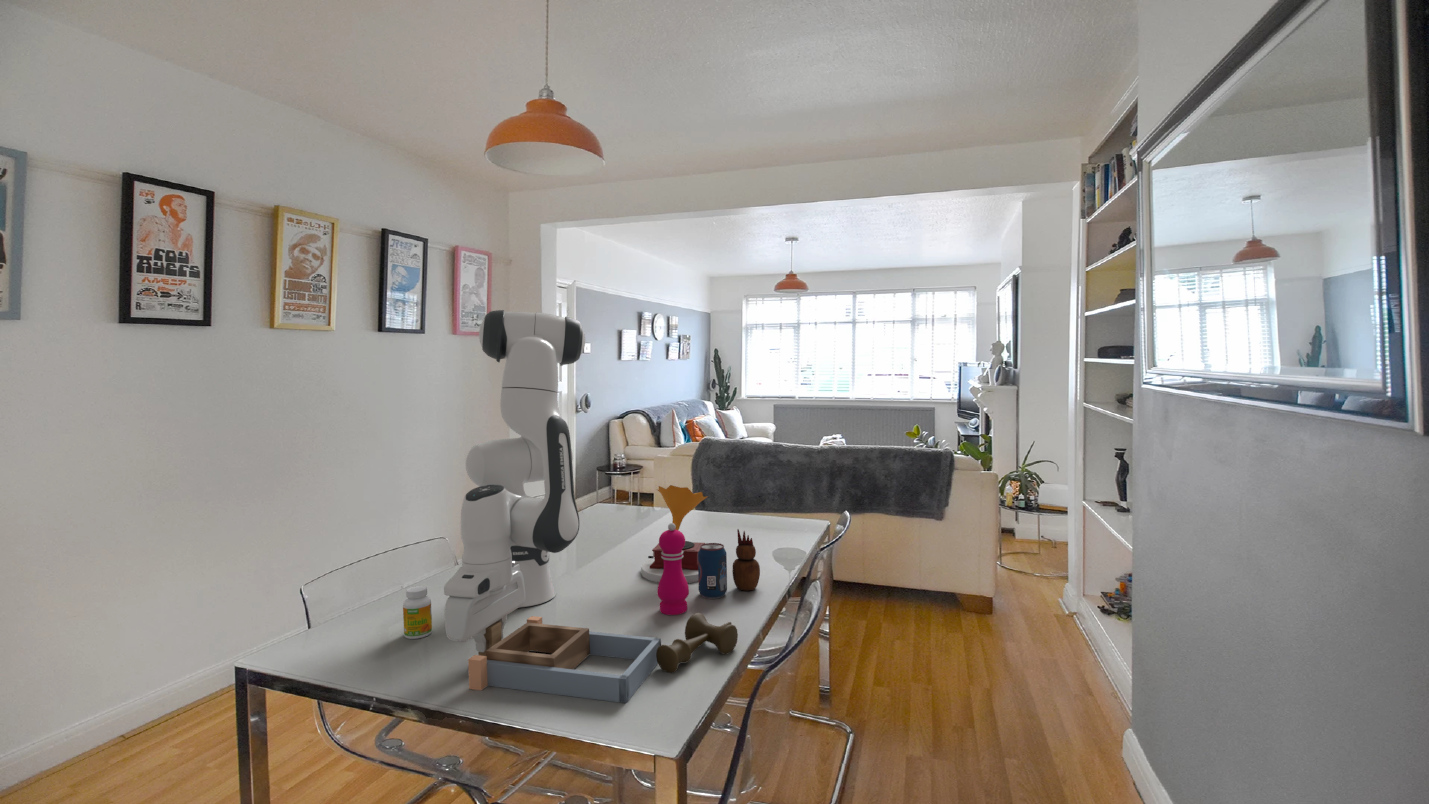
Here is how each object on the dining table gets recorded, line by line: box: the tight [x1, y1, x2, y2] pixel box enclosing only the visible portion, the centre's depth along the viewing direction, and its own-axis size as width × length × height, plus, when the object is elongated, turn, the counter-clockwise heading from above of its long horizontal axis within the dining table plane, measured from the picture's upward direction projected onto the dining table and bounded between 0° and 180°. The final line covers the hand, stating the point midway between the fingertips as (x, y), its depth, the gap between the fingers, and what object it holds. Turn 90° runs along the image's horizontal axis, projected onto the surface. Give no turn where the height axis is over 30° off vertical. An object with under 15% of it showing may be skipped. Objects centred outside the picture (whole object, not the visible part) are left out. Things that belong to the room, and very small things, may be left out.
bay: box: [467, 615, 662, 704], centre depth 118 cm, size 28×20×5 cm
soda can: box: [697, 542, 728, 600], centre depth 157 cm, size 7×7×12 cm
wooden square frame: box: [477, 621, 590, 670], centre depth 120 cm, size 19×13×7 cm
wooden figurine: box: [732, 528, 761, 592], centre depth 161 cm, size 7×6×15 cm
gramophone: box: [640, 484, 709, 584], centre depth 176 cm, size 20×20×25 cm
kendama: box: [656, 612, 739, 674], centre depth 124 cm, size 6×10×20 cm
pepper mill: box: [656, 522, 690, 616], centre depth 147 cm, size 7×7×20 cm
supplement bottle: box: [402, 585, 433, 640], centre depth 136 cm, size 5×5×10 cm
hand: (489, 645), depth 122 cm, fingers closed on wooden square frame, 3 cm apart
